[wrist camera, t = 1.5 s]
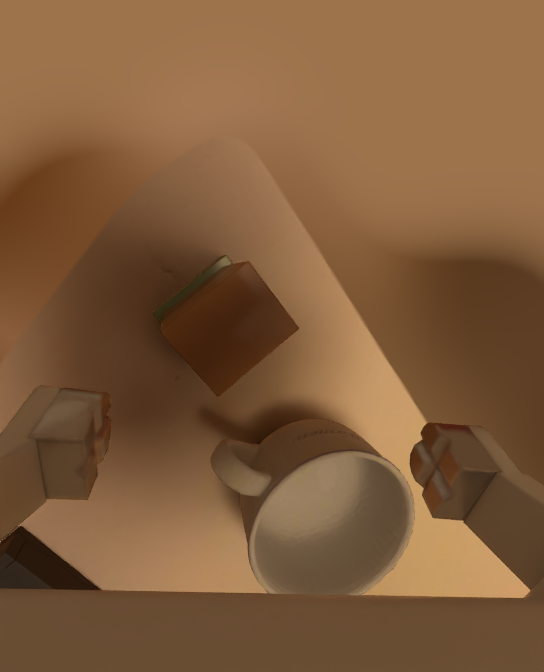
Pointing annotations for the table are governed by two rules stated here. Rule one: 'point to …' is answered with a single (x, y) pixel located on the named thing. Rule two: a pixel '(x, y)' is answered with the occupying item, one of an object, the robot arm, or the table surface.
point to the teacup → (318, 508)
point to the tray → (36, 566)
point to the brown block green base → (224, 322)
